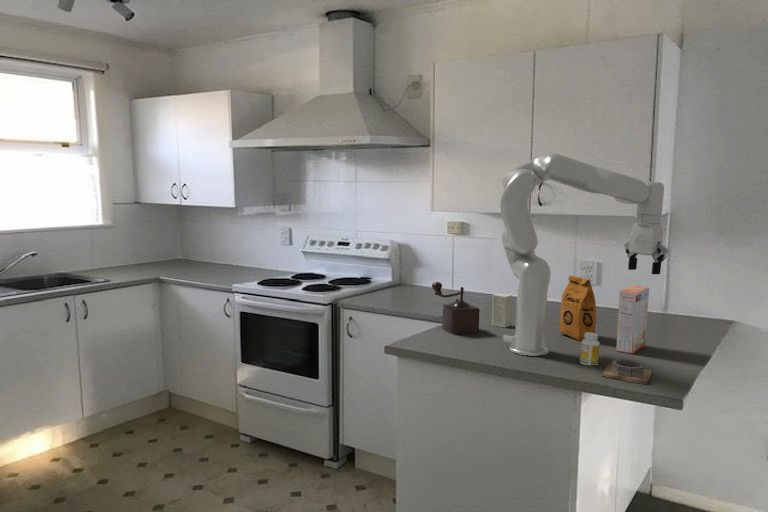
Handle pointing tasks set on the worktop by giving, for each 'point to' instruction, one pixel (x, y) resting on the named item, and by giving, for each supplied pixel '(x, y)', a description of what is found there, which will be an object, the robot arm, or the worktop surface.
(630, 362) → the socket board
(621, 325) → the cracker box
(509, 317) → the skincare box
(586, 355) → the supplement bottle
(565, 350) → the worktop surface
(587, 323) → the coffee package
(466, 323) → the manual coffee grinder
